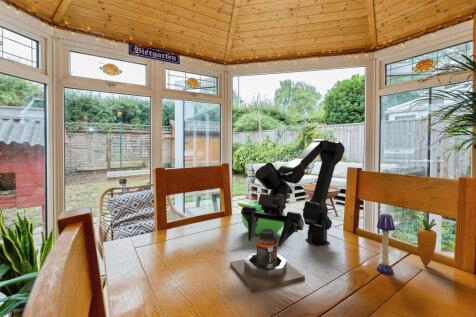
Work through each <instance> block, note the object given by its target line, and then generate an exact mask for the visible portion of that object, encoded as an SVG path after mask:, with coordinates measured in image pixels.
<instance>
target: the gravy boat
mask: <svg viewBox="0 0 476 317" xmlns="http://www.w3.org/2000/svg"><path fill="white" fill-rule="evenodd" d="M258 201H259V199H257V200H253V201H250V202H249V203H248V202H247V203H246V202H237V206H239V207H241V209H242V208H243V207H244V206H250V207H255V208H256V210H257V212H264V210H262V209H261V205H258ZM282 215H284V216H286V214H285V211H283V214H282ZM241 222H242V223H243V226H244V227H245V228H246V229H247V230H248V222H247V221H246V220H245V218H244V217H243V215H242V214H241ZM257 224H258V225H257V227H256V230H255V232H254V235H259V236H261V235H260V230H262V229H271V230H273V231H274V235H275V234H277V233H278V232H280V231H282V229H283V227H284V222H279V221H273V220H266V219H260V218H259V220H258V221H257Z"/></svg>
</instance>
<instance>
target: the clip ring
mask: <svg viewBox="0 0 476 317" xmlns="http://www.w3.org/2000/svg"><path fill="white" fill-rule="evenodd" d="M244 259H245V260H244V269H245V270H246V271H247V272H248V273H249V274H250V275H251V277H256V278H261V279H266V280H270V279H274V278H278V277H282V276H283V275H284V273H285V271H286V266H287V263H288V262H287V259H286V258H284V257H283V256H281V255H280V254H279V253H277V265H278V266H277V267H272V268H268V269H267V268H262V267H256V266H254V265H253V263H256V262H257V252H253V253H249V254H248V256H247V257H246V258H244Z"/></svg>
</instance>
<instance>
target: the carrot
mask: <svg viewBox="0 0 476 317" xmlns="http://www.w3.org/2000/svg"><path fill="white" fill-rule="evenodd" d="M421 219H422V223H423V224H422V225H423V227H421V228H419V229H418V230H417V239H416V240H417V244H416V245H417V252H418V255H419V258H420V260H421V262H422V264H423V266H425V267H426V266H428V265H429V264H430V263H431V261H432V259H433V257H434V255H435V254H434V253H435V251H436V247H437V246H436V244H437V236H438V235H437V232H436V230H434V229H432V228H433V227H434V226H437V222H435V221H436V219H434V218H432V219H431V221H430V223H428V221H427V219H426V218H425V217H422V218H421Z"/></svg>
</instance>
